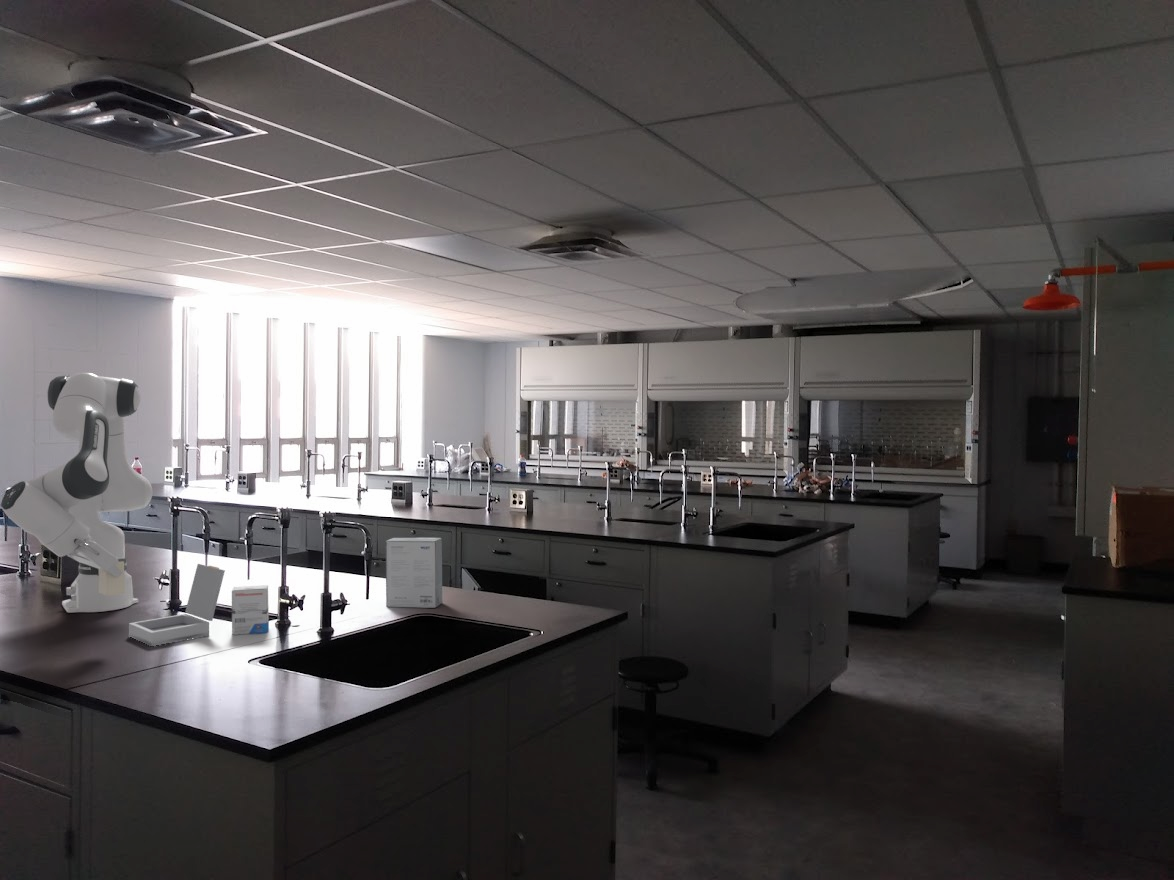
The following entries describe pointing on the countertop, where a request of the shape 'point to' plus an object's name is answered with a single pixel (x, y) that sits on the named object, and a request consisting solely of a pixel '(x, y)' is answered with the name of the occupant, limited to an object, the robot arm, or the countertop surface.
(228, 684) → the countertop surface
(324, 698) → the countertop surface
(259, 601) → the ink box
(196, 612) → the case lid
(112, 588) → the block
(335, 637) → the countertop surface
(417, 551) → the hard drive box
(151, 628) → the case
